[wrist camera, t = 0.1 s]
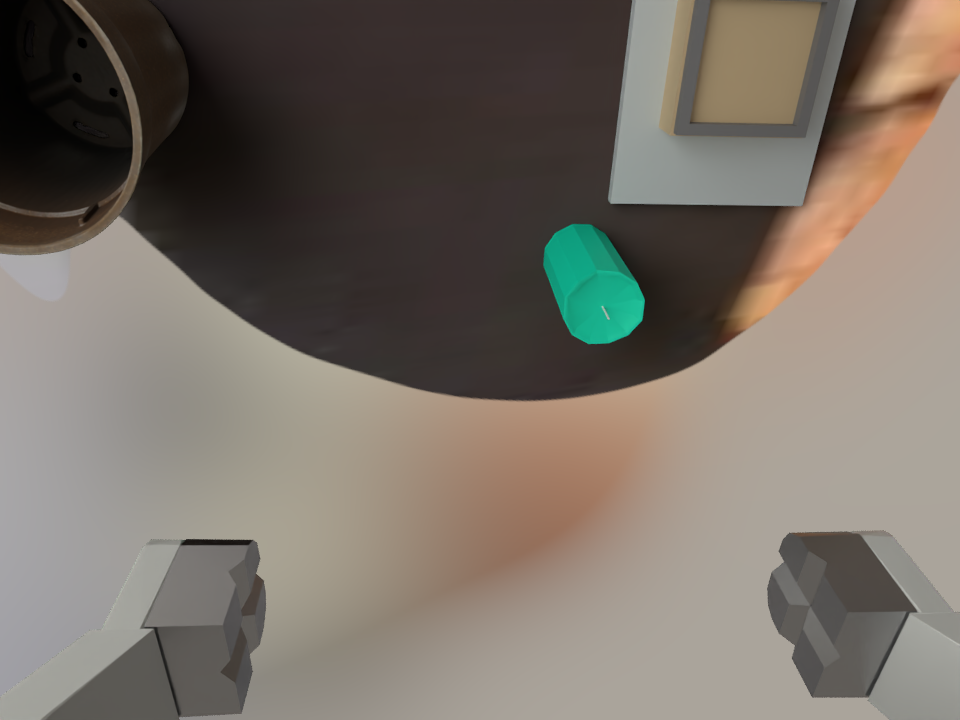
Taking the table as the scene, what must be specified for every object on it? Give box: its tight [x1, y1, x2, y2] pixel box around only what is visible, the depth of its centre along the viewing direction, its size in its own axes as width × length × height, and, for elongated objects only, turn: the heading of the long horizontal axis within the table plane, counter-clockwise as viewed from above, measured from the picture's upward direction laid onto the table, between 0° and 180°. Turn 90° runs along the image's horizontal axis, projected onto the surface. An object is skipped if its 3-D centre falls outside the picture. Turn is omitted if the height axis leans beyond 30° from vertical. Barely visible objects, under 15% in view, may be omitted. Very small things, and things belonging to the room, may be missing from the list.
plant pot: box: [0, 0, 189, 255], centre depth 44 cm, size 16×16×16 cm
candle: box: [544, 224, 645, 344], centre depth 55 cm, size 6×6×12 cm
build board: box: [608, 0, 856, 206], centre depth 51 cm, size 22×16×5 cm
